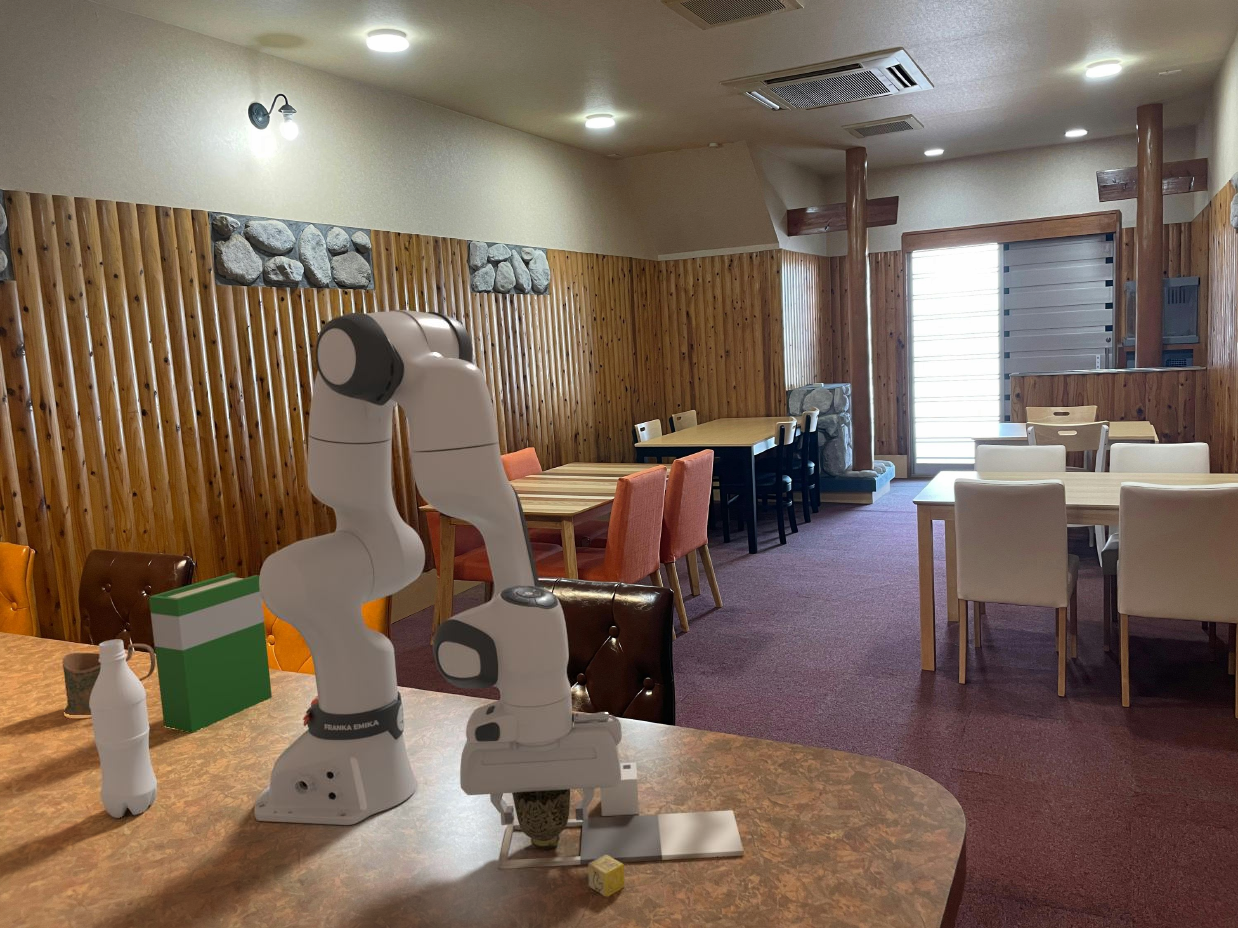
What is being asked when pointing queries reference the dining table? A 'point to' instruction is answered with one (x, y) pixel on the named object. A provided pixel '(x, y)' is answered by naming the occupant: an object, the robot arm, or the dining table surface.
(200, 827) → the dining table surface
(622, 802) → the die
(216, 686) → the hardback book
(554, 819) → the cup
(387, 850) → the dining table surface
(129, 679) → the water bottle
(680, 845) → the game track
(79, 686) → the mug
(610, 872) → the alphabet block
